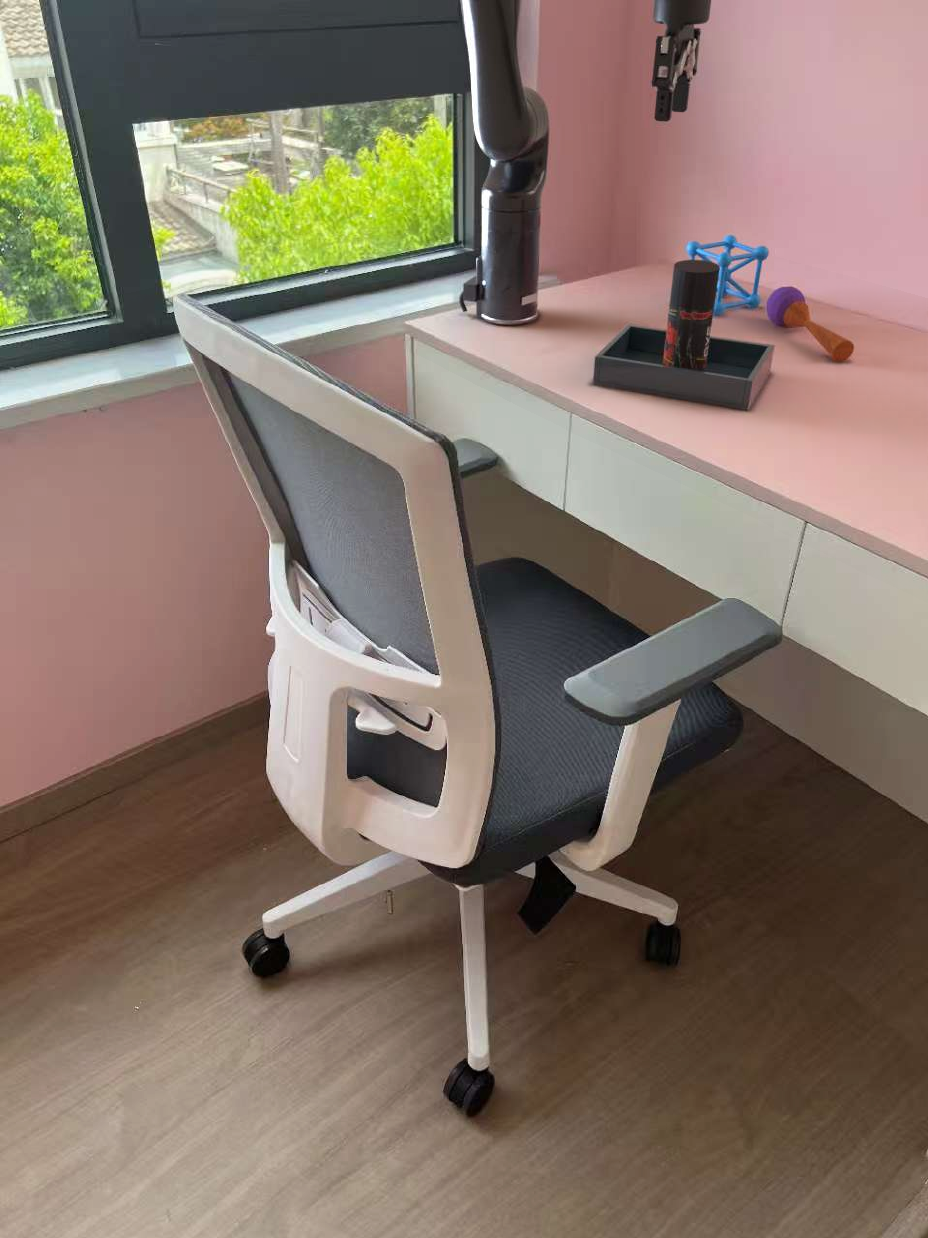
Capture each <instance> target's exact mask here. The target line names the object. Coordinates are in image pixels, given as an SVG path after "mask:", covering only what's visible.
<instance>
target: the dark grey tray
mask: <svg viewBox="0 0 928 1238" xmlns="http://www.w3.org/2000/svg"><path fill="white" fill-rule="evenodd" d="M666 331H667V329H665V328H657V327H650V326H644V325H636V324H625V326H624V327H623V328H622V329H621V330H620V331H619V332H618V333H617V334H616V335H615V336H614V337H613V338H611V340H610V341H608V343H607V344H606V345H604V347H603V348H602V349H601V350H600V351H599V352H598V353H597V354H596V355H595V356H594V362H593V363H594V365H593V377H592V380H593V381H592V385H593V386H599V387H605V388H611V389H618V390H622V391H628V392H634V393H641V394H646V395H652V396H658V397H663V398H664V397H665V398H670V399H676V400H681V401H682V400H683V401H688V402H695V403H700V404H706V405H710V406H718V407H723V408H730V409H734V410H735V409H736V410H742V411H748V410H749V409H750V408H751V405H752V404H753V402H754V400H755V399H756V397H757V395H758V393H759V392H760V391H761V388H762V387H763V385H764V383H765V382H766V380H767V378H768V377H769V375H770V374H771V369H772V362H773V357H774V352H775V347H776V345H774V344H768V343H762V342H754V341H747V340H741V339H734V338H726V337H720V336H714V335H713V336H712V335H710V340H709V347H708V354H707V361H706V368H705V372H703V371H697V370H691V369H684V368H678V367H672V366H665V365H663V357H664V348H665V340H666Z"/></svg>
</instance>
